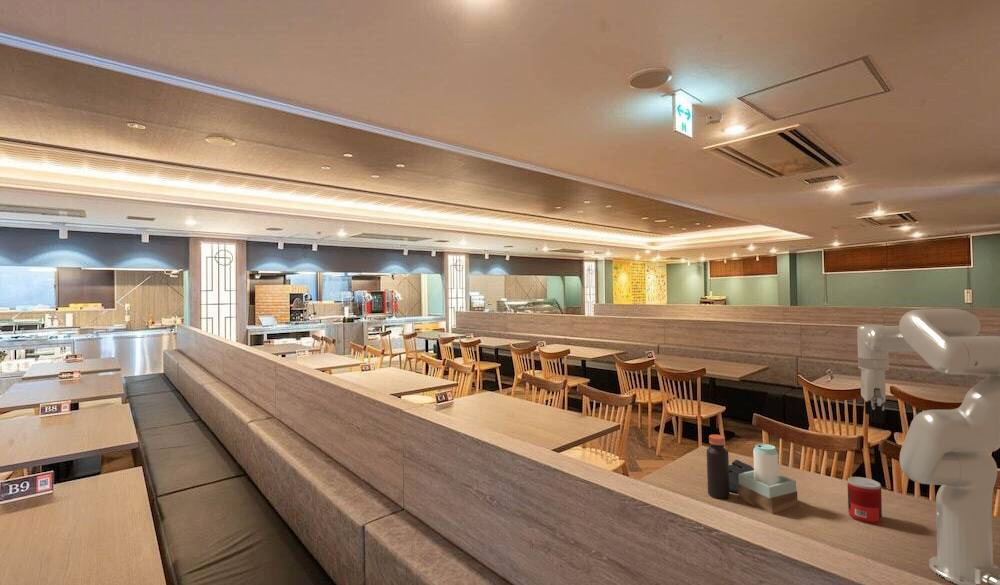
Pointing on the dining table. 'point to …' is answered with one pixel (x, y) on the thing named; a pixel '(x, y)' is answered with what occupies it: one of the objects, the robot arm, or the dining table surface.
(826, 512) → the dining table surface
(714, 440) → the bottle
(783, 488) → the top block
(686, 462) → the dining table surface
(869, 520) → the canned food
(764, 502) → the bottom block
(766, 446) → the can
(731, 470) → the dark slate chunk
